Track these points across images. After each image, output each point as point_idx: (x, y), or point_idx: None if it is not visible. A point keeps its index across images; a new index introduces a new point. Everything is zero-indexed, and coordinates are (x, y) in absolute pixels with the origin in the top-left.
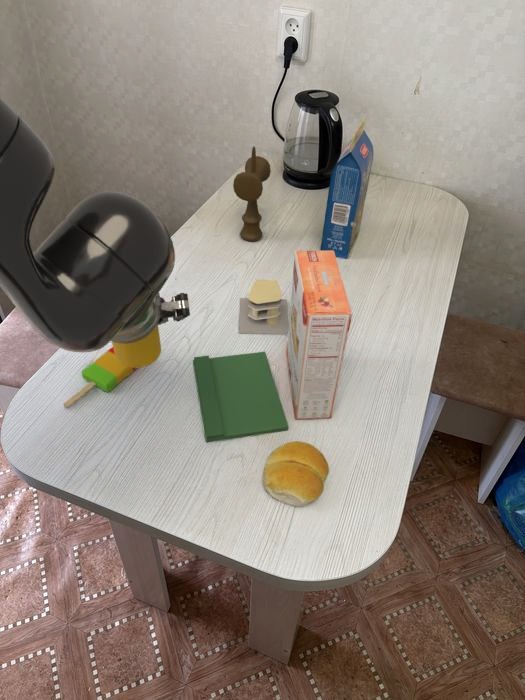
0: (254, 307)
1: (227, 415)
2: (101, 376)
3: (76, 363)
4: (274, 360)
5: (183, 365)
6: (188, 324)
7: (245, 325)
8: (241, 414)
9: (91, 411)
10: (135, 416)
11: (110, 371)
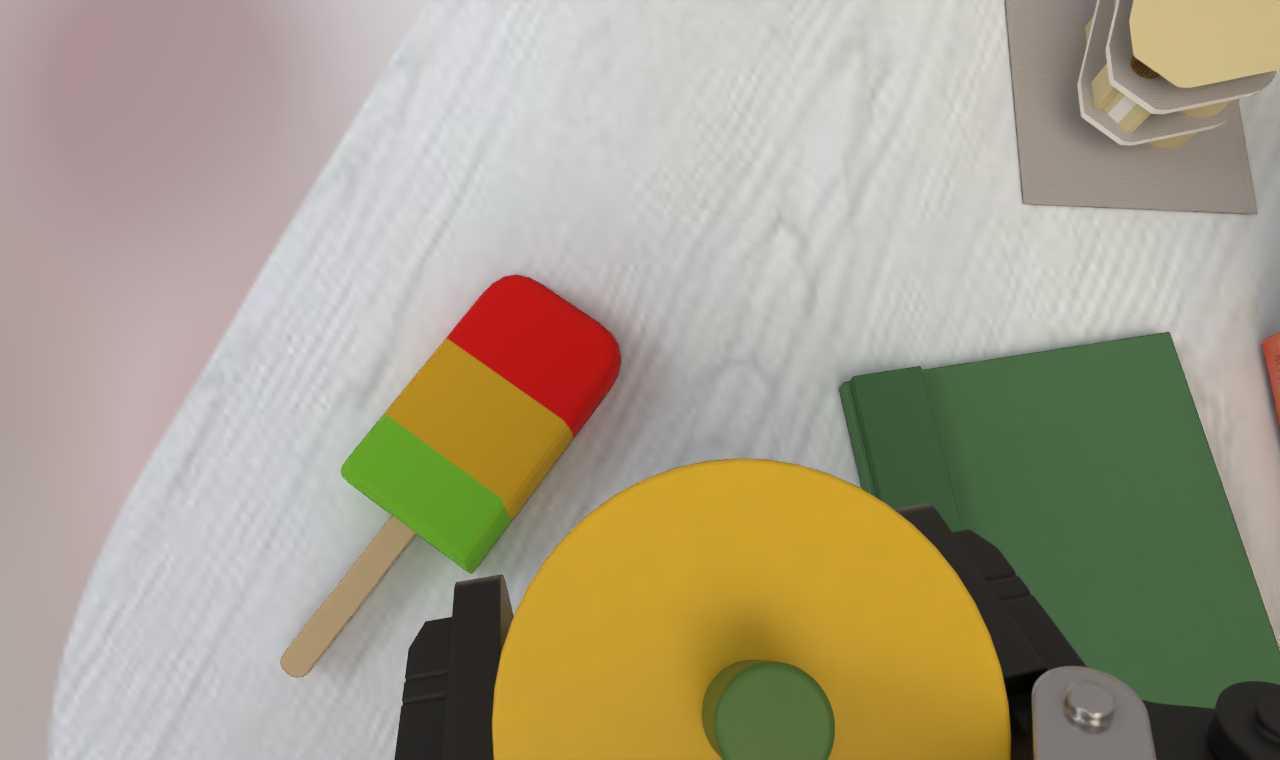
0: (1148, 95)
1: None
2: (437, 506)
3: (310, 381)
4: (1205, 373)
5: (794, 399)
6: (788, 145)
7: (1049, 155)
8: None
9: None
10: None
11: (475, 475)
